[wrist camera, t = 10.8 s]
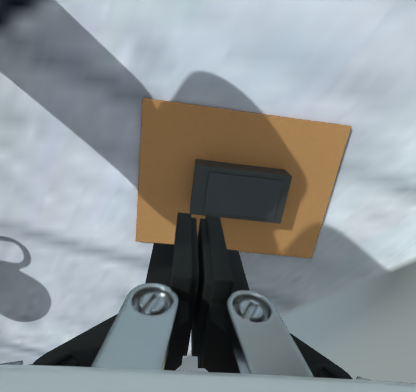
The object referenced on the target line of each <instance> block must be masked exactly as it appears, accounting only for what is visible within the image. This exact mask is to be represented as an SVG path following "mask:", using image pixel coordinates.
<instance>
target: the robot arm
mask: <svg viewBox="0 0 416 392" xmlns="http://www.w3.org/2000/svg"><path fill="white" fill-rule="evenodd" d="M190 334H191V342H192V356H198V368H205V369H206V370H207V371H208V372H194V371H175V370H176V369H177V368H178V367H179V366H180V365H181V364H182V357H183V356H187V352H188V346H189V340H190ZM0 392H416V384H413V383H402V382H387V381H373V380H369V379H365V378H361V377H357V378H356V380H355V379H352V378H351V376H350V375H349V374H348V373H346V372H345V371H344V370H343V369H342V368H340V367H339V366H337V365H336V364H334V363H333V362H331V361H330V360H329V359H327V358H326V357H324V356H323V355H321V354H320V353H318V352H317V351H315V350H314V349H313V348H311V347H309V346H308V345H307V344H305V343H304V342H302V341H301V340H299V339H298V338H296V337H295V336H293V335H292V334H290V333H289V331H288V329H287V327H286V326H285V324H284V322H283V320H282V319H281V317H280V315H279V313H278V311H277V310H276V308H275V306H274V305H273V303H272V302H271V301H270V300H269V299H268V298H266V297H265V296H264V295H262V294H260V293H257V292H254V291H250V290H249V287H248V284H247V280H246V277H245V273H244V269H243V266H242V262H241V259H240V255H239V252H238V251H237V250H229V249H227V247H226V243H225V238H224V233H223V229H222V224H221V219H220V217H218V216H208V215H206V217H205V219H203V218H200V223H199V229H198V236H197V220H196V218H193V217H191V214H189V213H180V212H178V214H177V223H176V231H175V240H174V244H165V243H154V245H153V250H152V255H151V259H150V264H149V269H148V274H147V278H146V283H145V284H142V285H139V286H137V287H135V288H134V289H132V290H131V291H130V293H129V294H128V295H127V297H126V299H125V301H124V303H123V305H122V307H121V309H120V311H119V313H118V314H117V315H115V316H113V317H111V318H109V319H108V320H106V321H104V322H102V323H100V324H98V325H97V326H95V327H93V328H91V329H89V330H88V331H86V332H84V333H82V334H80V335H78V336H77V337H75V338H73V339H71V340H69V341H68V342H66V343H64V344H62V345H60V346H58V347H57V348H55V349H53V350H51V351H49V352H47V353H46V354H44V355H43V356H41V357H40V358H39V359H37V360H36V361H35V362H34V363H33V364H30V365H23V361H17V362H10V363H3V364H0Z"/></svg>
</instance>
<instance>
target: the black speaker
mask: <svg viewBox="0 0 416 392" xmlns="http://www.w3.org/2000/svg"><path fill="white" fill-rule="evenodd" d="M291 180H292V176H291V175H290V174H289V173H288V172H287V171H286V170H284V169H276V168H267V167H259V166H251V165H242V164H234V163H226V162H217V161H209V160H201V159H195V167H194V175H193V184H192V192H191V200H190V214H193V215H202V216H206V215H208V216H218V217H221V218H231V219H241V220H250V221H260V222H269V223H279V224H281V220H282V216H283V212H284V208H285V204H286V200H287V196H288V192H289V188H290V184H291Z"/></svg>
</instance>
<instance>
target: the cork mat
mask: <svg viewBox="0 0 416 392" xmlns="http://www.w3.org/2000/svg"><path fill="white" fill-rule="evenodd" d="M350 130H351V126H347V125H339V124H332V123H325V122H317V121H310V120H302V119H295V118H288V117H280V116H273V115H265V114H258V113H251V112H243V111H236V110H228V109H221V108H214V107H206V106H199V105H191V104H184V103H177V102H169V101H162V100H154V99H147V98H143V102H142V122H141V143H140V163H139V184H138V204H137V224H136V241H138V242H148V243H165V244H174V240H175V231H176V223H177V214H178V212H180V213H189V214H190V200H191V192H192V184H193V175H194V167H195V159H201V160H209V161H217V162H226V163H234V164H242V165H251V166H259V167H267V168H276V169H284V170H286V171H287V172H288V173H289V174H290V175H291V176H292V180H291V184H290V188H289V192H288V196H287V200H286V204H285V208H284V212H283V216H282V220H281V224H279V223H269V222H260V221H250V220H241V219H231V218H221V217H220V219H221V224H222V229H223V233H224V238H225V243H226V247H227V249H229V250H237V251H242V252H252V253H262V254H273V255H283V256H293V257H304V258H312V255H313V252H314V248H315V245H316V242H317V239H318V235H319V232H320V229H321V225H322V222H323V219H324V216H325V212H326V209H327V206H328V202H329V199H330V196H331V192H332V189H333V186H334V183H335V179H336V176H337V173H338V169H339V166H340V163H341V160H342V156H343V153H344V150H345V146H346V143H347V140H348V136H349V133H350ZM191 217H193V218H196V220H197V236H198V229H199V223H200V218H203V219H205V217H206V216H202V215H193V214H191Z"/></svg>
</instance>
